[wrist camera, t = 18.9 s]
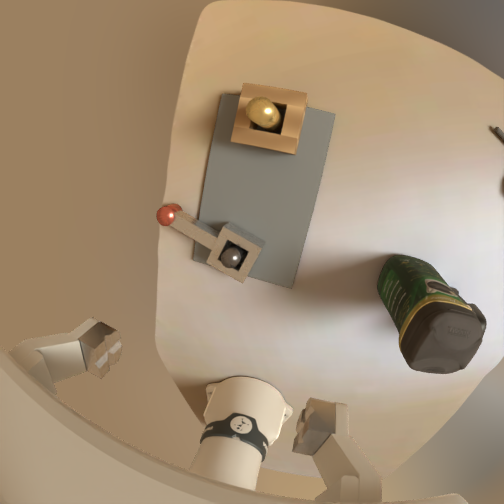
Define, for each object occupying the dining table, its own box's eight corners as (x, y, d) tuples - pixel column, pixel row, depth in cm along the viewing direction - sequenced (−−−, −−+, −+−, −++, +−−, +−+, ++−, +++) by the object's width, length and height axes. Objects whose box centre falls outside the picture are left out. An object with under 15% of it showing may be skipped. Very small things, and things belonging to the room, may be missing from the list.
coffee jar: (370, 295, 39) (394, 378, 22) (387, 247, 37) (433, 311, 19) (420, 308, 38) (461, 385, 21) (439, 264, 35) (498, 327, 18)
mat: (291, 287, 42) (291, 288, 41) (194, 259, 44) (193, 260, 44) (335, 114, 33) (335, 113, 32) (223, 94, 35) (222, 93, 34)
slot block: (295, 155, 35) (293, 154, 31) (239, 143, 36) (230, 141, 33) (307, 100, 32) (306, 93, 29) (250, 90, 33) (243, 82, 30)
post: (245, 258, 41) (236, 270, 37) (230, 253, 42) (219, 265, 37) (248, 243, 41) (239, 253, 36) (233, 238, 41) (222, 249, 36)
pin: (281, 134, 35) (271, 125, 26) (260, 130, 35) (243, 120, 27) (285, 113, 34) (276, 98, 25) (264, 109, 34) (248, 94, 26)
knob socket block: (266, 242, 40) (261, 248, 37) (247, 275, 42) (242, 283, 39) (174, 191, 40) (163, 194, 37) (161, 224, 43) (151, 229, 40)
